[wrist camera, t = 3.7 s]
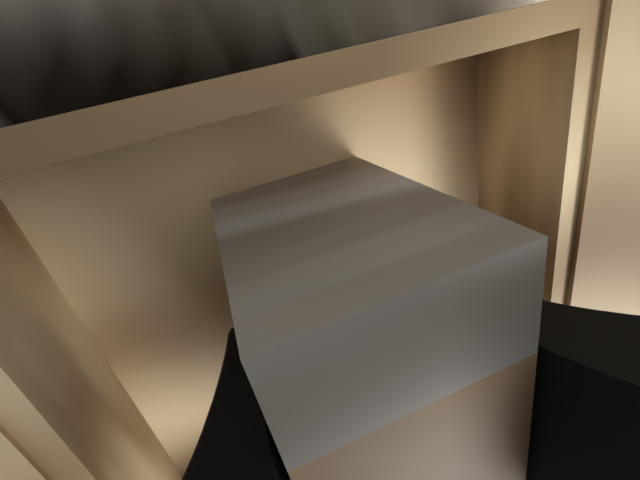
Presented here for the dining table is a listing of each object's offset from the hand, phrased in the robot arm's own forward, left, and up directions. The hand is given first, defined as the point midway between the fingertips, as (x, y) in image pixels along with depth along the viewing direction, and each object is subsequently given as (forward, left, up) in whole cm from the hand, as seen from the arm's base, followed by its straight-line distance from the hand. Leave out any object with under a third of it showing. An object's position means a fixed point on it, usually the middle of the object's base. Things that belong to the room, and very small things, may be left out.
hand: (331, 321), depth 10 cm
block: (0, 0, -1) cm, 1 cm away
